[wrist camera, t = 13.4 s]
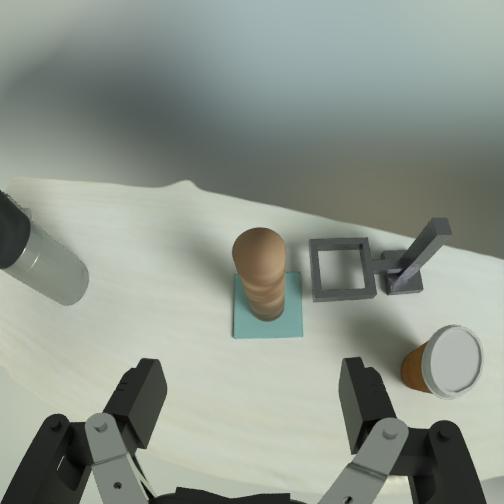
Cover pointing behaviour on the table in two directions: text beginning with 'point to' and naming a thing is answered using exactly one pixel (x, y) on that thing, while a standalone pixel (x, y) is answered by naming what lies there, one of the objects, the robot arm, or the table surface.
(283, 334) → the felt coaster
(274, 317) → the walnut rod
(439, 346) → the disposable coffee cup
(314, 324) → the table surface
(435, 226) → the ring stand
